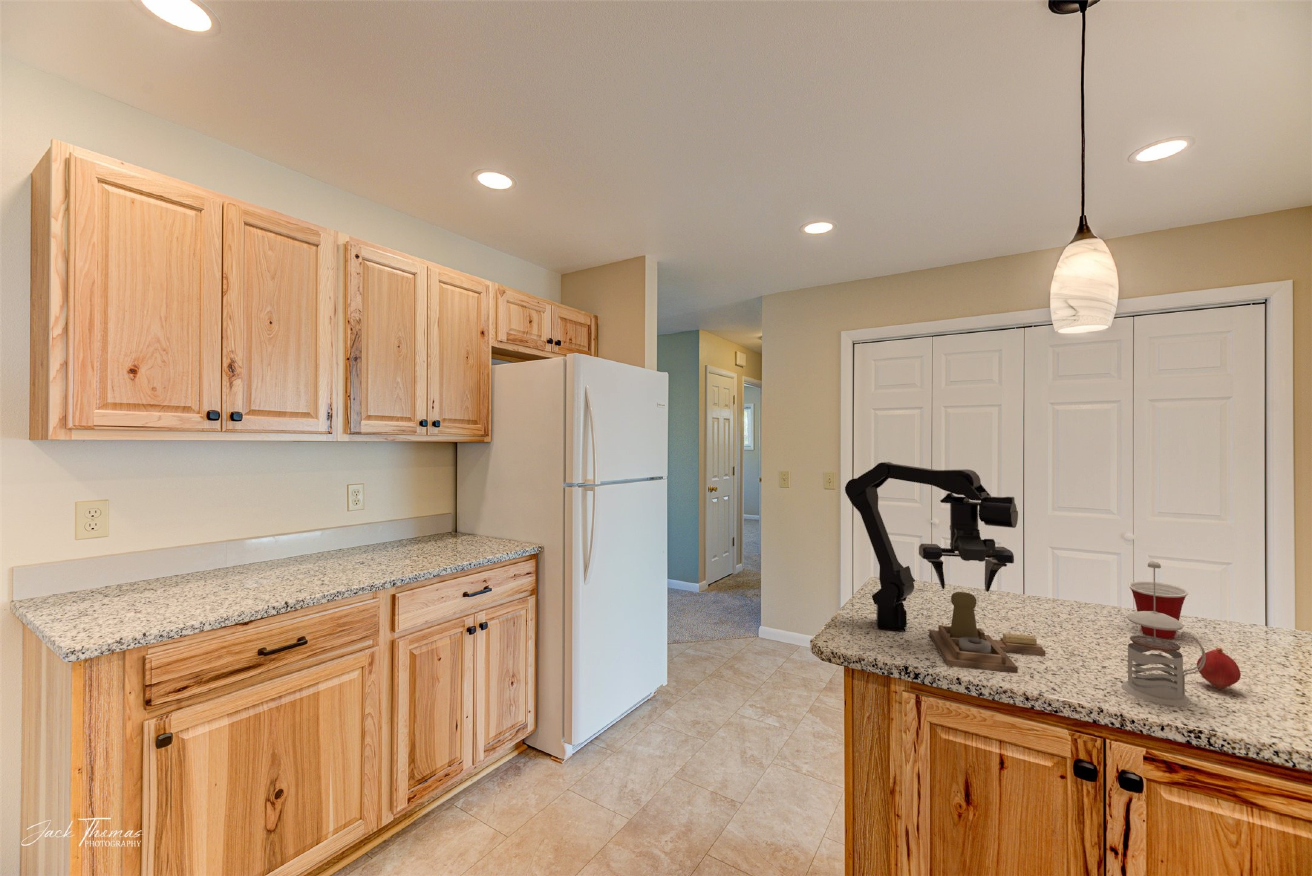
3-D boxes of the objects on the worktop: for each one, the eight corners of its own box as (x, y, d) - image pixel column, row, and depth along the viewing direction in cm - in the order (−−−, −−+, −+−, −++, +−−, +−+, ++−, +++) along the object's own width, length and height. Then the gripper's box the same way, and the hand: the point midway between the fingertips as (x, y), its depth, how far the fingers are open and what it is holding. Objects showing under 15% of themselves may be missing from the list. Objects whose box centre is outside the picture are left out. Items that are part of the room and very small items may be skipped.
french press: (1120, 677, 109) (1119, 553, 109) (1201, 694, 102) (1200, 561, 102) (1121, 694, 101) (1120, 562, 102) (1209, 714, 94) (1208, 571, 94)
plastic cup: (1125, 635, 132) (1124, 586, 132) (1132, 624, 140) (1131, 578, 140) (1186, 647, 124) (1186, 595, 124) (1191, 636, 131) (1190, 586, 132)
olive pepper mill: (984, 645, 123) (983, 596, 123) (956, 644, 124) (955, 596, 124) (971, 635, 129) (971, 589, 129) (944, 634, 130) (944, 589, 130)
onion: (1188, 682, 107) (1188, 641, 107) (1215, 681, 107) (1214, 640, 107) (1221, 696, 101) (1221, 653, 101) (1249, 694, 101) (1249, 652, 101)
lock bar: (1006, 645, 123) (1006, 636, 123) (1002, 641, 125) (1002, 633, 125) (1036, 647, 121) (1036, 639, 121) (1032, 644, 123) (1032, 635, 123)
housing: (947, 665, 115) (947, 644, 115) (929, 634, 133) (929, 616, 133) (1068, 677, 109) (1068, 656, 109) (1032, 643, 127) (1032, 625, 127)
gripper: (928, 527, 121) (928, 596, 121) (1023, 530, 116) (1023, 602, 116) (917, 520, 132) (918, 583, 132) (1004, 522, 127) (1005, 589, 127)
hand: (964, 589), depth 126 cm, fingers open, 9 cm apart
